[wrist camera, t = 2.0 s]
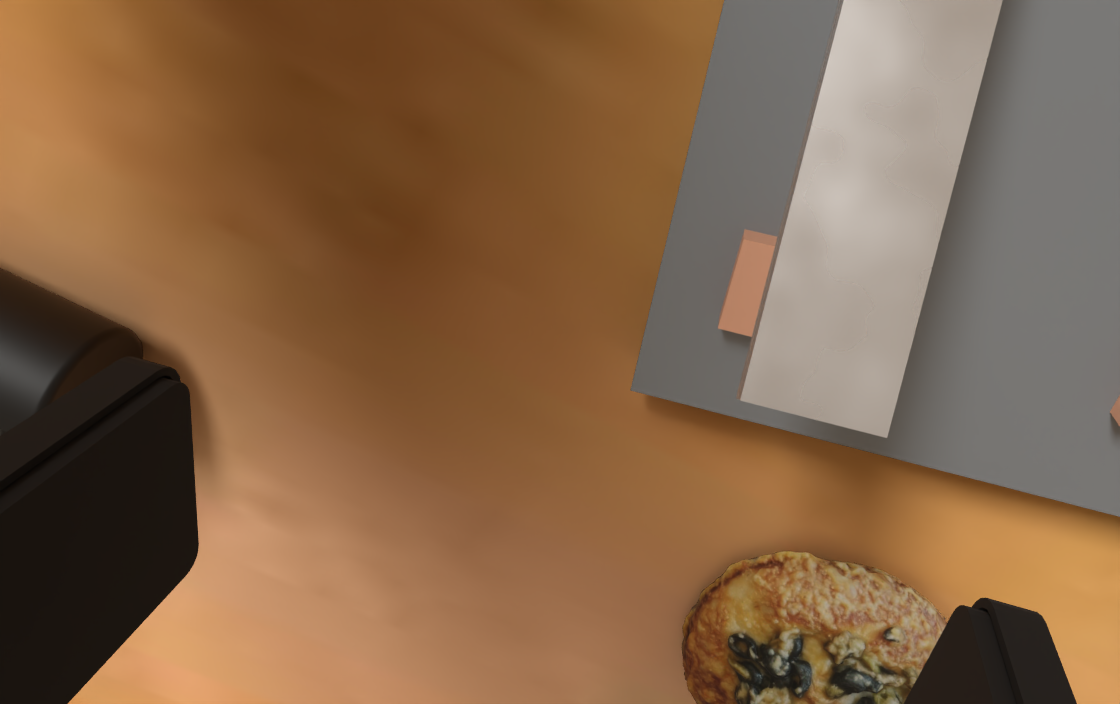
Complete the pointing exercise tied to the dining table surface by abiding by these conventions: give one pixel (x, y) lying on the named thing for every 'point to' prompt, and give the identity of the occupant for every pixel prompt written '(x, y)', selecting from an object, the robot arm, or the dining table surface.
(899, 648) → the bread roll
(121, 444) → the robot arm
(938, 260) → the clamp board
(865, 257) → the strap
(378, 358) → the dining table surface
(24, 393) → the end cap
